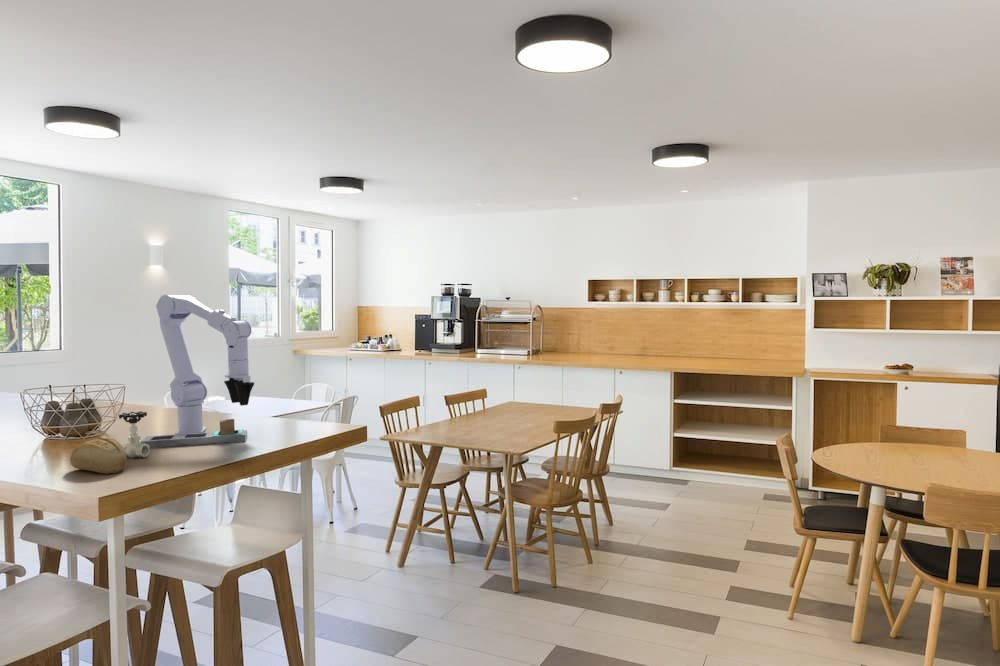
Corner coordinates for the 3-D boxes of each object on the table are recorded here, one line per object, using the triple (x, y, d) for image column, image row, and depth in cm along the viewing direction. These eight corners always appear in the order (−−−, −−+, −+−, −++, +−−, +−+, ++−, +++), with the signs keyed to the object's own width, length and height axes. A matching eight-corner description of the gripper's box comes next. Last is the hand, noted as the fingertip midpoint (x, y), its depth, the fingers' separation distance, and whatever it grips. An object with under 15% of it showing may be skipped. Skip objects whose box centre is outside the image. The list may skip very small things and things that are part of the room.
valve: (136, 461, 181) (134, 415, 180) (115, 460, 182) (113, 415, 181) (154, 455, 187) (152, 411, 187) (133, 454, 188) (131, 411, 188)
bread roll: (94, 464, 178) (93, 433, 177) (138, 468, 173) (137, 437, 172) (59, 473, 169) (57, 441, 168) (105, 478, 164) (103, 444, 163)
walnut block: (220, 439, 207) (219, 419, 207) (234, 438, 209) (234, 418, 208) (220, 442, 203) (219, 422, 203) (234, 441, 205) (234, 421, 205)
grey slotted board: (146, 443, 204) (146, 435, 203) (247, 436, 211) (247, 429, 211) (140, 448, 196) (140, 440, 196) (245, 441, 204) (245, 433, 203)
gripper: (217, 359, 215) (218, 402, 215) (232, 362, 203) (234, 407, 204) (240, 357, 219) (241, 400, 220) (256, 360, 208) (258, 405, 208)
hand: (239, 403), depth 212 cm, fingers open, 7 cm apart
